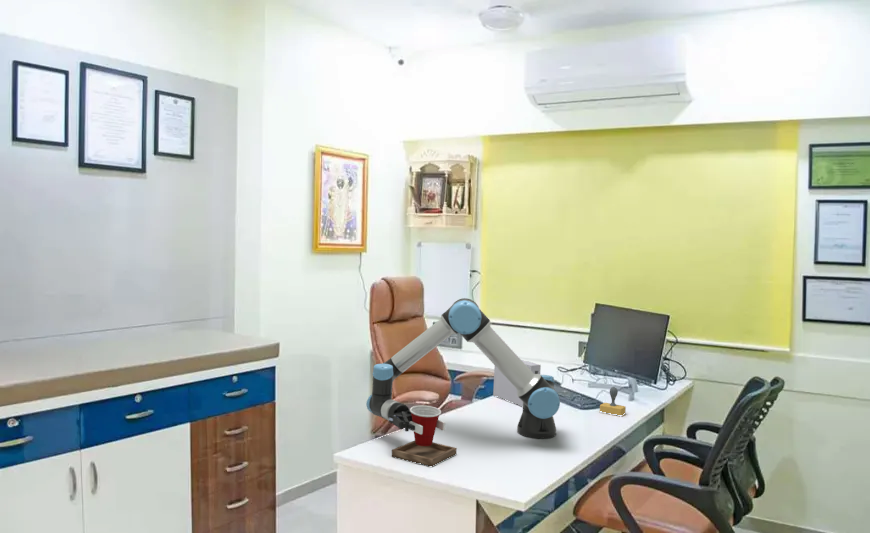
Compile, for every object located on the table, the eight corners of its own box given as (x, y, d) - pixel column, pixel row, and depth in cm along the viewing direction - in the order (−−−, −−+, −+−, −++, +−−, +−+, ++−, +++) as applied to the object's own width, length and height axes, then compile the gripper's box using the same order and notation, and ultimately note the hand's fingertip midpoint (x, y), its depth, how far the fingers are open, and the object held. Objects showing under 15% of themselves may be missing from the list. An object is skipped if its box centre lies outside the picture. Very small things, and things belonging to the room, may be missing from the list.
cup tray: (456, 454, 229) (456, 447, 229) (431, 467, 216) (431, 459, 216) (418, 445, 238) (418, 438, 238) (391, 456, 224) (391, 449, 224)
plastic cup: (416, 450, 219) (418, 414, 219) (403, 440, 229) (404, 406, 228) (445, 447, 224) (447, 412, 224) (430, 437, 234) (432, 404, 233)
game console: (502, 395, 321) (504, 354, 321) (539, 408, 298) (541, 364, 297) (493, 396, 318) (494, 355, 318) (529, 409, 295) (531, 365, 294)
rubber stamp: (625, 414, 294) (626, 387, 294) (621, 417, 289) (622, 389, 289) (604, 410, 300) (605, 384, 299) (599, 412, 295) (600, 386, 295)
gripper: (419, 418, 247) (457, 434, 229) (370, 426, 234) (406, 444, 216) (420, 399, 247) (458, 413, 229) (371, 405, 234) (407, 421, 216)
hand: (433, 428), depth 223 cm, fingers closed on plastic cup, 9 cm apart
